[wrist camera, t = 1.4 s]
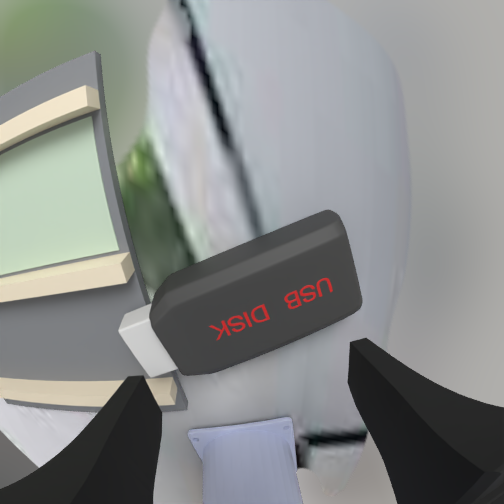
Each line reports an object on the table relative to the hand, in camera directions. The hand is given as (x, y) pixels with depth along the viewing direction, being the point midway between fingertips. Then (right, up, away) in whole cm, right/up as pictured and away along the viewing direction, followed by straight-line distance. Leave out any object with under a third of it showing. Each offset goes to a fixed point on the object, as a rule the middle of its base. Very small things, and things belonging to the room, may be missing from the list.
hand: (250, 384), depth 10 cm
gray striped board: (-15, +3, +5) cm, 16 cm away
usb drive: (-1, +2, +7) cm, 7 cm away
